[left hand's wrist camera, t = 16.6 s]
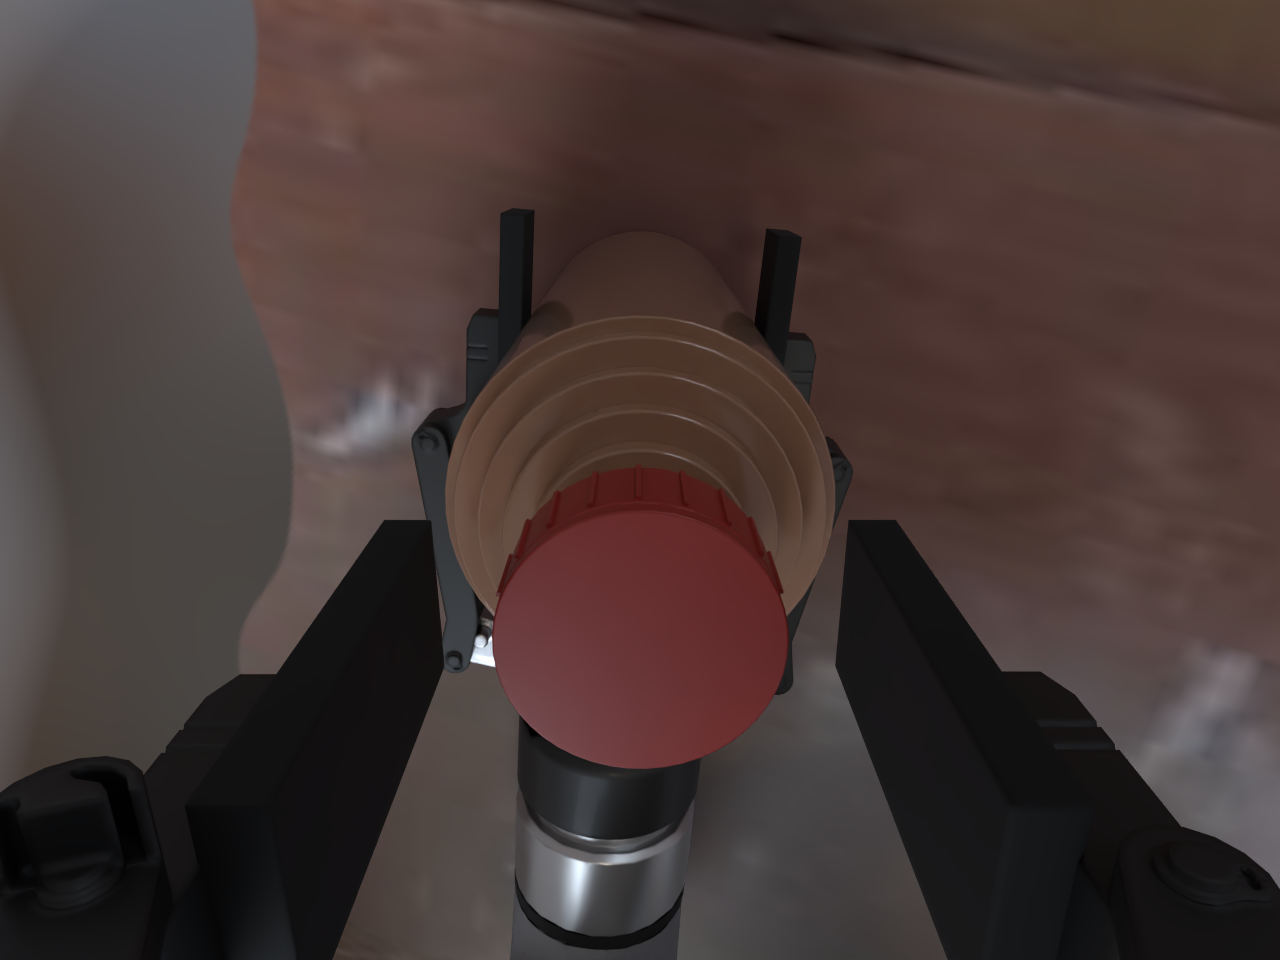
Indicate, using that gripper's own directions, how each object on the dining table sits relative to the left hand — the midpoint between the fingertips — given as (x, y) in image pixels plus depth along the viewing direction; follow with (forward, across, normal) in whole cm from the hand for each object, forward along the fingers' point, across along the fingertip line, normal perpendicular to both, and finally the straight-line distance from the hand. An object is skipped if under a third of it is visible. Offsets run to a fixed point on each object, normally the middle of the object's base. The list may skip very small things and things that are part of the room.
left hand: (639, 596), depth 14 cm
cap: (-1, 0, 0) cm, 1 cm away
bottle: (+23, 0, 0) cm, 23 cm away
